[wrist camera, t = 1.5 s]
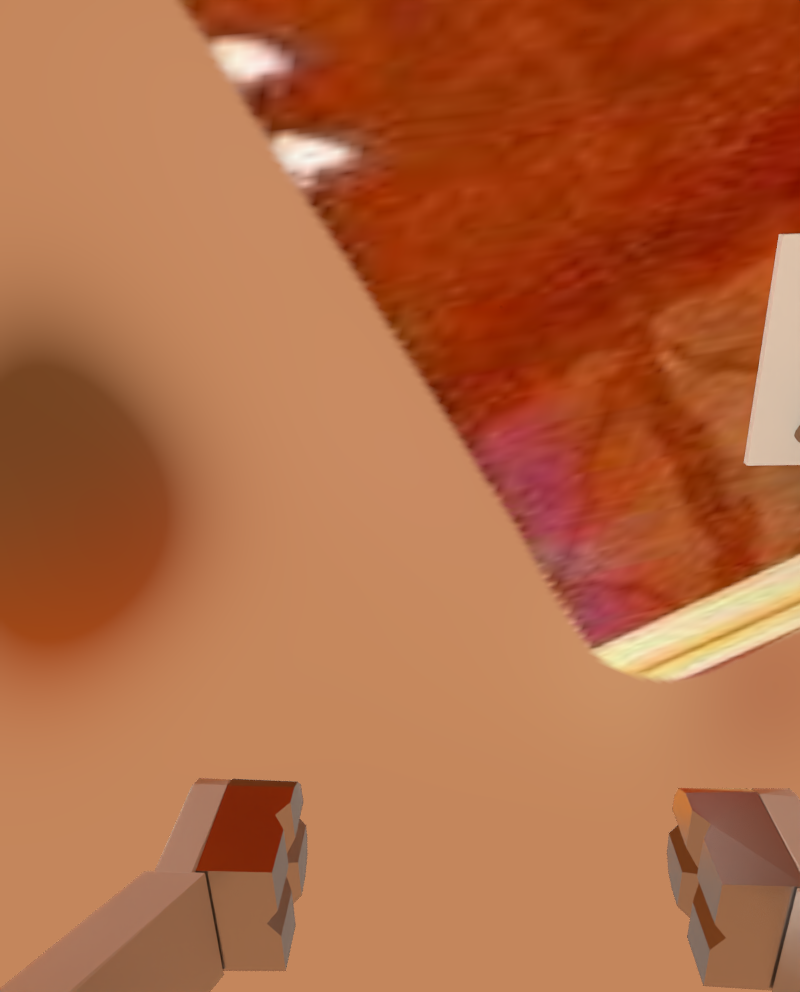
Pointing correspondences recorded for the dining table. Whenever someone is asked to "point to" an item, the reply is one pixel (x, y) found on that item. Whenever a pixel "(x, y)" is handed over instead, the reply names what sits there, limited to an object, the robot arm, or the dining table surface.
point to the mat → (779, 366)
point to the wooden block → (797, 434)
